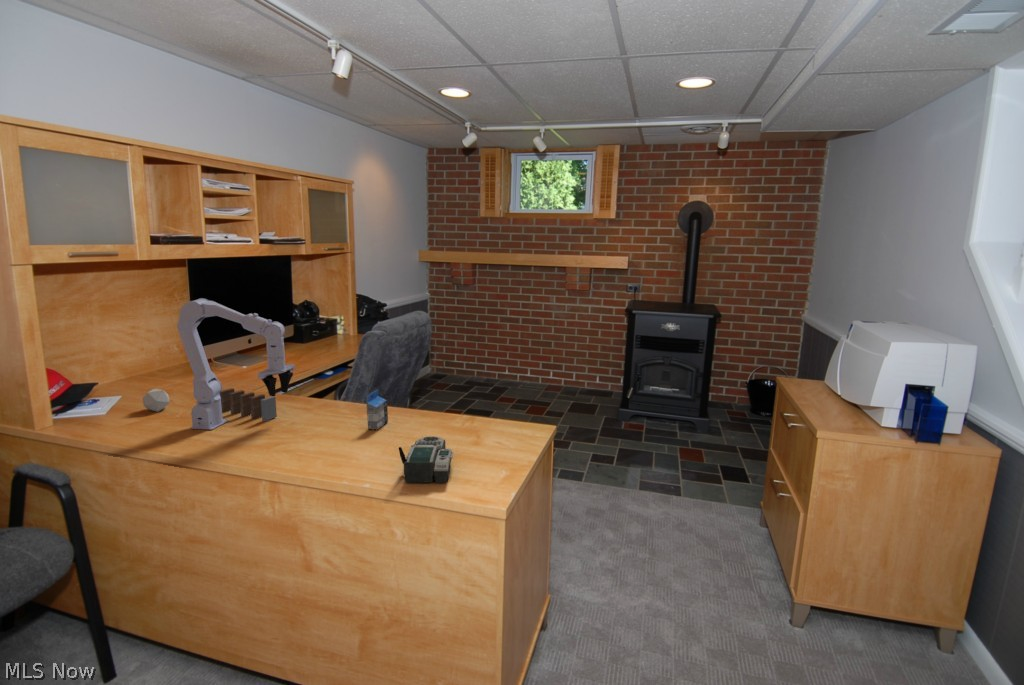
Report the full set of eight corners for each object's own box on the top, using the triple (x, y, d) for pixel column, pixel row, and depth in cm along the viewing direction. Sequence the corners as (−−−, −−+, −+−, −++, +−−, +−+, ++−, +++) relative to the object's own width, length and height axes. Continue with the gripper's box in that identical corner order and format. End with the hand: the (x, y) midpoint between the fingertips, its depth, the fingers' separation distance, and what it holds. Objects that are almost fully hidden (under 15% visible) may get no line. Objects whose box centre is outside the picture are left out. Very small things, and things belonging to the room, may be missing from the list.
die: (176, 410, 203) (172, 387, 206) (160, 405, 195) (156, 381, 198) (155, 417, 203) (152, 395, 206) (138, 413, 195) (135, 389, 198)
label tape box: (377, 430, 184) (376, 396, 181) (366, 429, 184) (365, 395, 182) (388, 422, 192) (387, 389, 190) (378, 421, 193) (377, 388, 191)
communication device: (456, 447, 172) (456, 416, 170) (450, 485, 144) (450, 449, 143) (412, 446, 172) (412, 415, 170) (397, 485, 144) (396, 448, 142)
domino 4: (266, 415, 197) (264, 394, 196) (254, 419, 193) (253, 398, 191) (263, 414, 198) (261, 394, 196) (251, 418, 193) (249, 397, 192)
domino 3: (255, 413, 199) (254, 392, 198) (244, 416, 195) (242, 396, 193) (252, 412, 200) (251, 392, 199) (241, 416, 196) (239, 395, 194)
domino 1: (235, 408, 204) (234, 388, 203) (224, 412, 200) (222, 391, 198) (233, 408, 205) (231, 388, 203) (221, 411, 200) (219, 391, 199)
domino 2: (245, 410, 202) (244, 390, 200) (234, 414, 197) (232, 394, 196) (242, 410, 202) (241, 390, 201) (231, 413, 198) (229, 393, 196)
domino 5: (276, 417, 195) (275, 396, 193) (265, 421, 190) (263, 400, 189) (273, 417, 195) (272, 396, 194) (262, 421, 191) (260, 399, 190)
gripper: (266, 362, 178) (269, 400, 181) (300, 354, 191) (302, 390, 193) (252, 359, 181) (255, 397, 184) (286, 352, 194) (288, 387, 196)
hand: (278, 393), depth 189 cm, fingers open, 5 cm apart
